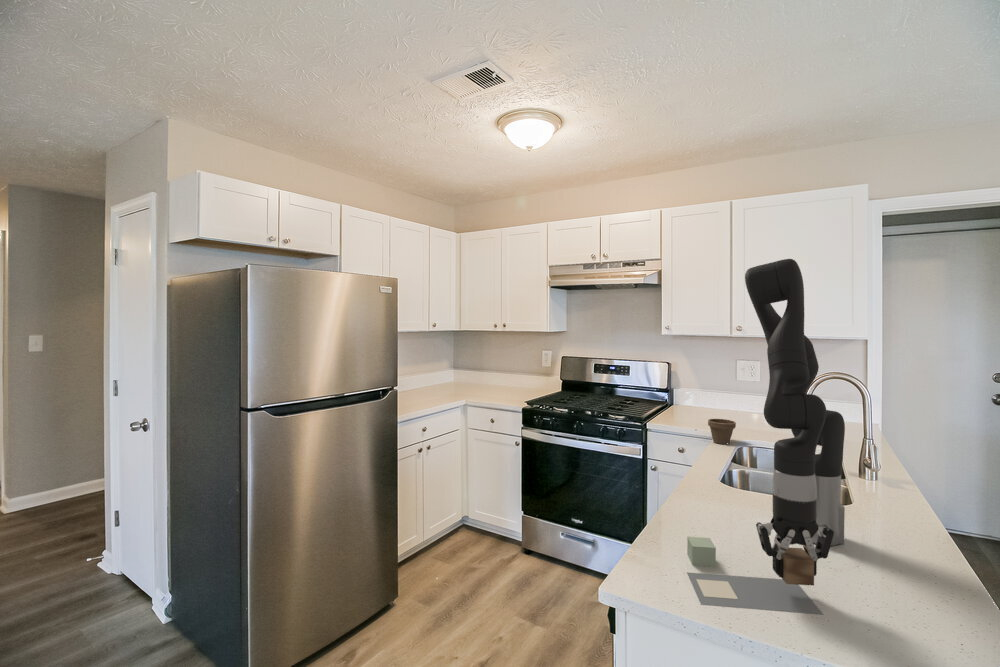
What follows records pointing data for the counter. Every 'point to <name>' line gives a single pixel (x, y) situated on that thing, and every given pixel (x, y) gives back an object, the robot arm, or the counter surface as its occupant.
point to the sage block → (701, 551)
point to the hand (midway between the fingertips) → (794, 575)
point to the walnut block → (798, 567)
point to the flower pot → (721, 430)
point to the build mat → (751, 593)
